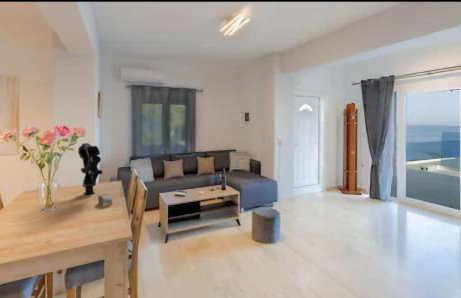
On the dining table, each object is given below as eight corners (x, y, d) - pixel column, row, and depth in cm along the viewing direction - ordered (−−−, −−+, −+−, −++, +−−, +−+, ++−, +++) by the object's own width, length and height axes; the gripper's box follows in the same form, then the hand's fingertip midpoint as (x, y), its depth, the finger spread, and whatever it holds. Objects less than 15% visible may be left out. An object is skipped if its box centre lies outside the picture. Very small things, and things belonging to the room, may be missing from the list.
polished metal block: (98, 195, 188) (103, 197, 183) (106, 193, 192) (112, 195, 187) (98, 203, 188) (103, 206, 183) (106, 201, 193) (112, 203, 188)
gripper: (77, 162, 201) (78, 182, 202) (86, 164, 188) (87, 185, 190) (92, 160, 209) (93, 180, 210) (102, 162, 197) (103, 183, 198)
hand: (94, 182), depth 202 cm, fingers closed
